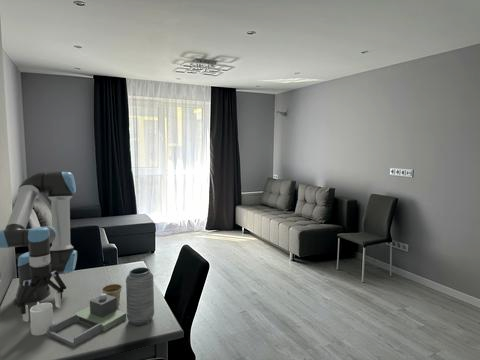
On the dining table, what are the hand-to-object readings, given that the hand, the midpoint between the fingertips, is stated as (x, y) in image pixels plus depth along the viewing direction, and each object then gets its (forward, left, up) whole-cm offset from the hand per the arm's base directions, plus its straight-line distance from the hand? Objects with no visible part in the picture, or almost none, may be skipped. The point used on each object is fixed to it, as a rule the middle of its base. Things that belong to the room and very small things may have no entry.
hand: (42, 313), depth 137 cm
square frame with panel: (+14, +11, -7) cm, 19 cm away
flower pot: (+8, +29, -7) cm, 31 cm away
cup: (-2, 0, -7) cm, 8 cm away
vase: (+31, +25, -7) cm, 40 cm away
